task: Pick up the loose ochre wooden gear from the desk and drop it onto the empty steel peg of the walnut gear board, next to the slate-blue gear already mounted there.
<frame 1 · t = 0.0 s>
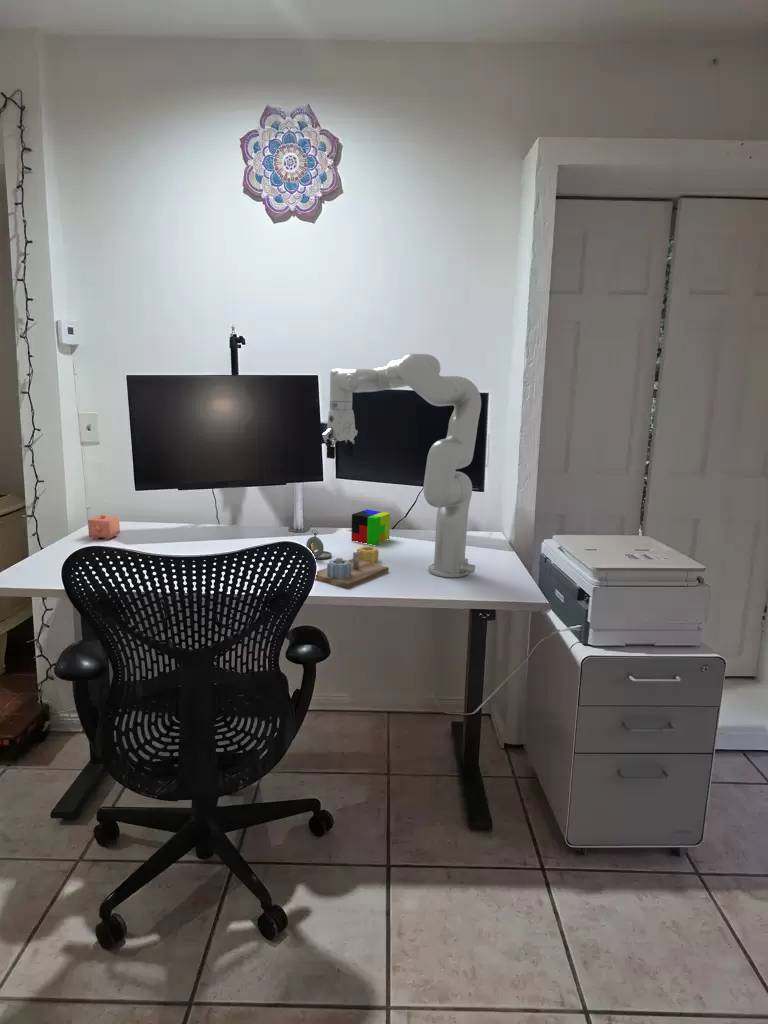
hand: (340, 456, 224), 31 cm above the table, tool pointing down, fingers open, 9 cm apart
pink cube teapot: (104, 538, 230), on the table
puzzle toy: (370, 541, 238), on the table
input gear: (367, 560, 214), on the table
gear board: (350, 575, 200), on the table
pocket watch: (319, 558, 216), on the table
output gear: (339, 574, 195), resting on gear board
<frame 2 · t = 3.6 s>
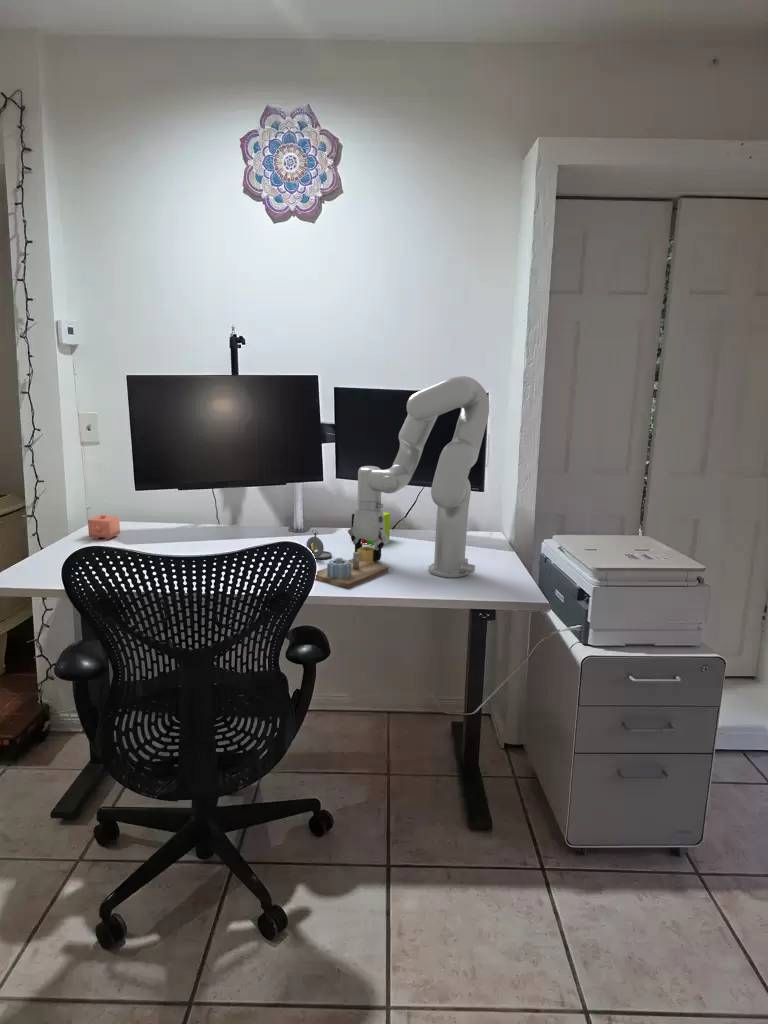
hand: (367, 557, 214), 1 cm above the table, tool pointing down, fingers closed on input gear, 6 cm apart
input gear: (367, 560, 214), on the table, touching gripper
everything else where it was.
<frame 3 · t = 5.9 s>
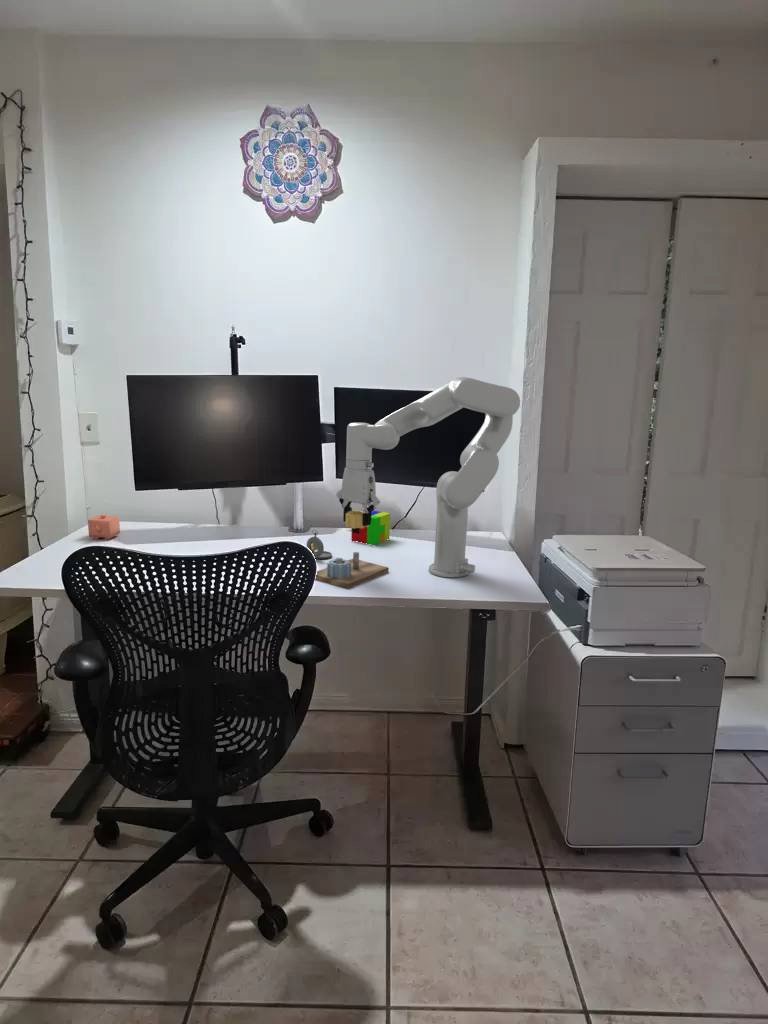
hand: (357, 522, 199), 16 cm above the table, tool pointing down, fingers closed on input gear, 6 cm apart
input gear: (356, 525, 199), point 15 cm above the table, touching gripper
everything else where it was.
when the fingers open (5 cm above the table, at t = 8.4 s): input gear drops 2 cm, resting on gear board.
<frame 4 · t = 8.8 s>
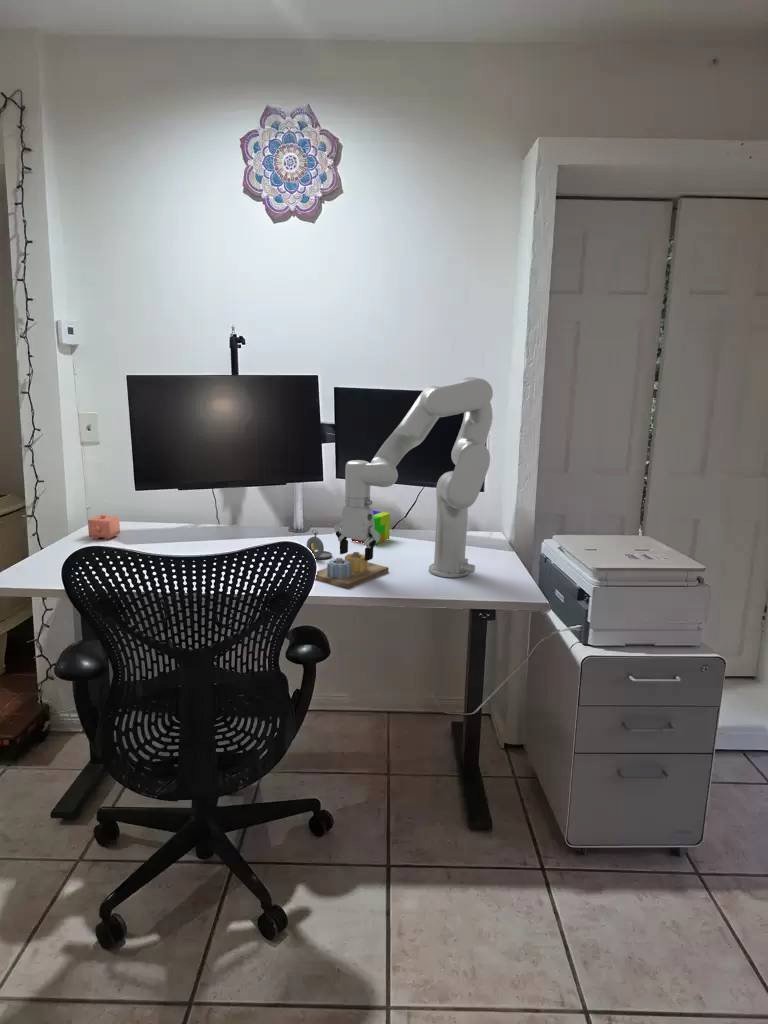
hand: (356, 556, 200), 5 cm above the table, tool pointing down, fingers open, 9 cm apart
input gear: (356, 568, 201), point 1 cm above the table, touching gear board
everything else where it was.
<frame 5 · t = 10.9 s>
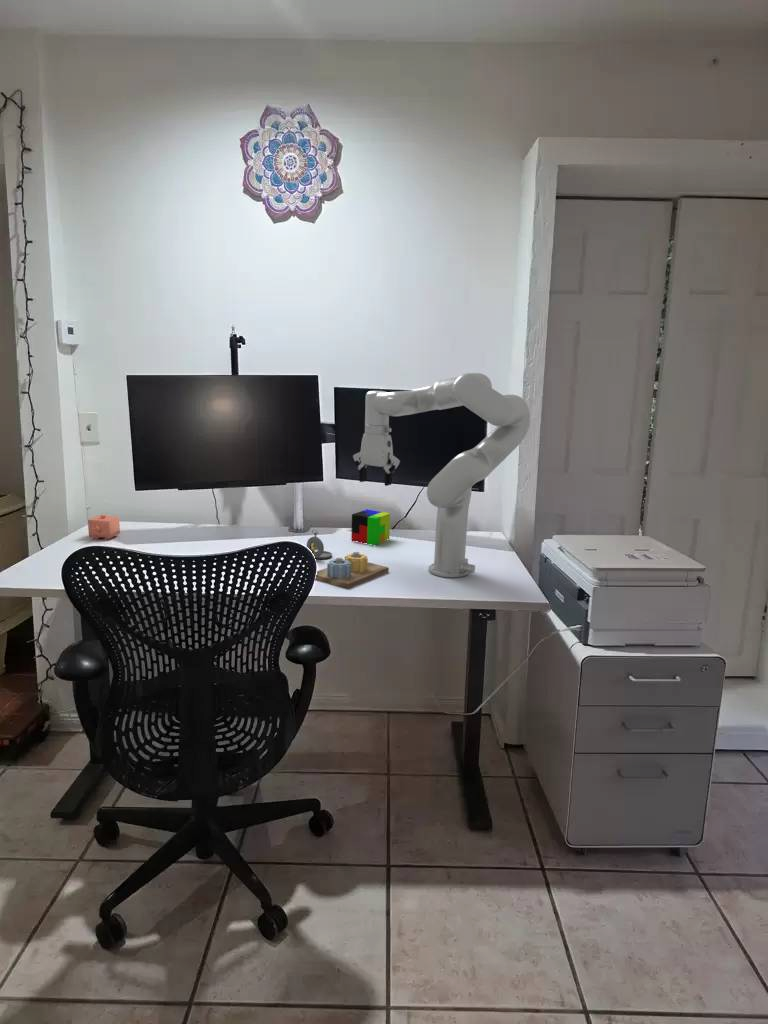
hand: (375, 483, 212), 25 cm above the table, tool pointing down, fingers open, 9 cm apart
nothing on the table moved.
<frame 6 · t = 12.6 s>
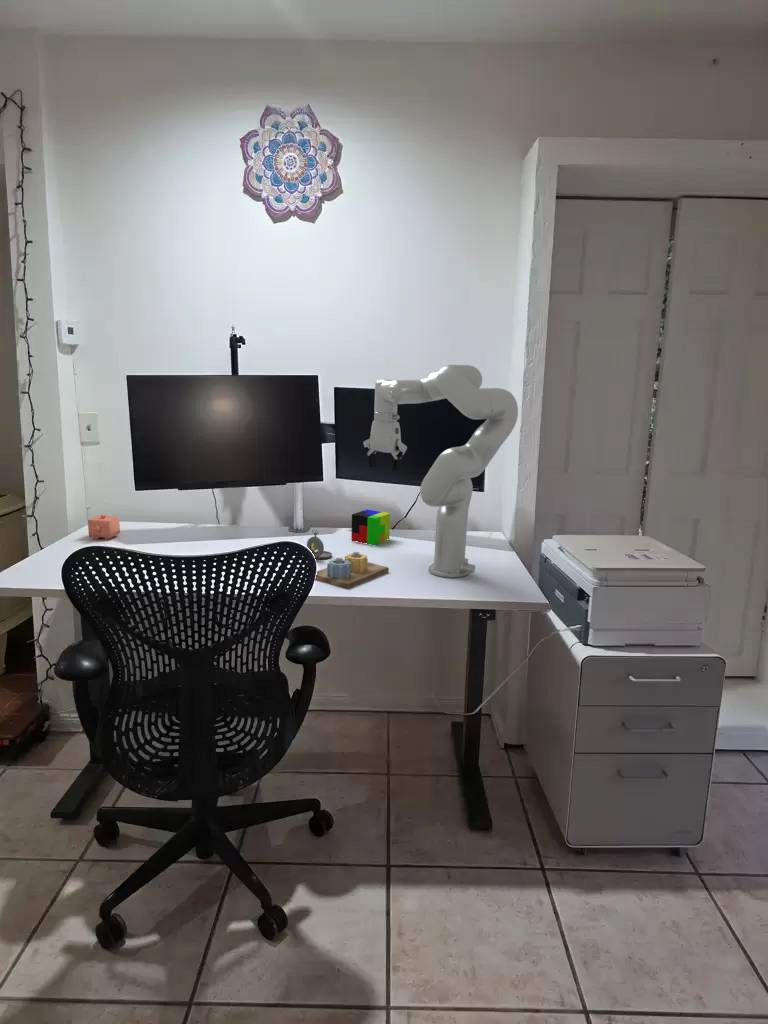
hand: (383, 468, 220), 28 cm above the table, tool pointing down, fingers open, 9 cm apart
nothing on the table moved.
at the end: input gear 0.1 cm from the target spot on the gear board, point 1.5 cm above the gear board's base; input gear tilted 0°; the gripper is holding nothing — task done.
